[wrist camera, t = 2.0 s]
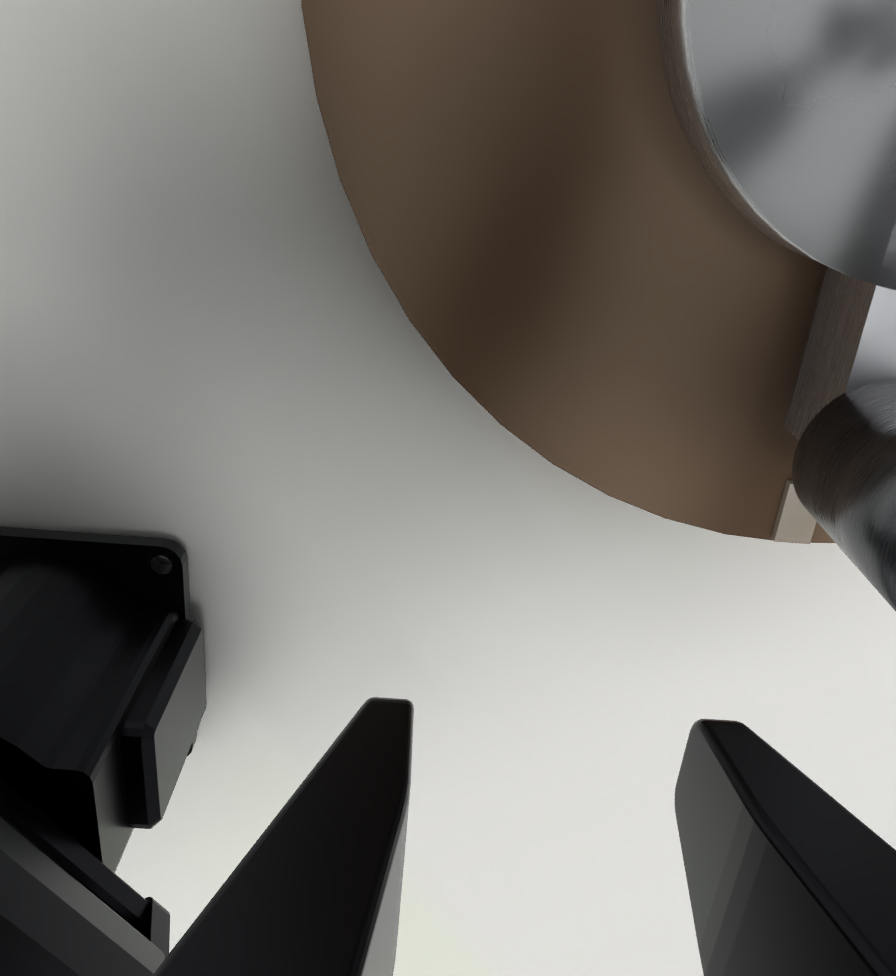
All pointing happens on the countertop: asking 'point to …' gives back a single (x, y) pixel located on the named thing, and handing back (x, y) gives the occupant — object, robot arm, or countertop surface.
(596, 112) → the dial base plate
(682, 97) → the dial
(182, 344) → the countertop surface
